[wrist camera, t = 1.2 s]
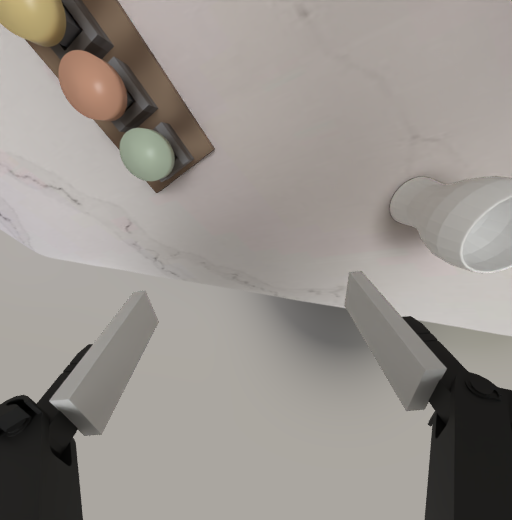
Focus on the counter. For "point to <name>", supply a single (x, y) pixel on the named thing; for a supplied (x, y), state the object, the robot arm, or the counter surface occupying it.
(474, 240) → the cup
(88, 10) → the panel
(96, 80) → the terracotta button
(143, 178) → the sage button
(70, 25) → the ochre button
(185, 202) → the counter surface
